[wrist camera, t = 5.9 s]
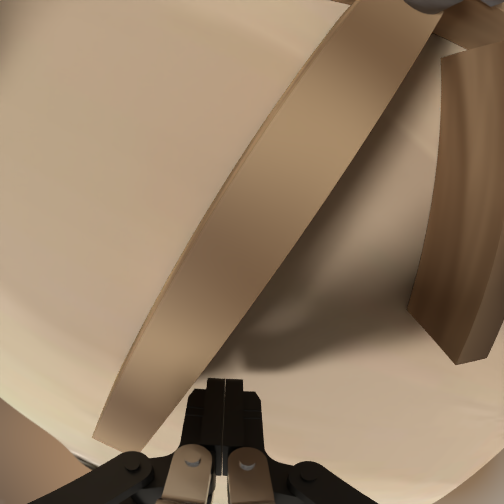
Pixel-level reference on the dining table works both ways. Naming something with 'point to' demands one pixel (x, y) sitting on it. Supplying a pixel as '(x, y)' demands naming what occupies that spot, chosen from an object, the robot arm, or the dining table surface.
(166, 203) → the dining table surface
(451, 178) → the wooden hinge stand
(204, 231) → the bar
